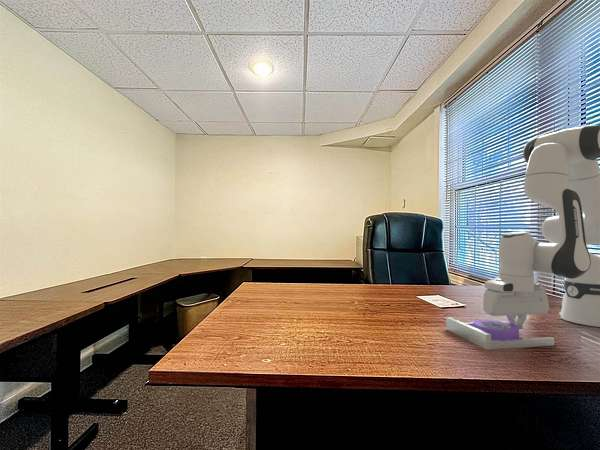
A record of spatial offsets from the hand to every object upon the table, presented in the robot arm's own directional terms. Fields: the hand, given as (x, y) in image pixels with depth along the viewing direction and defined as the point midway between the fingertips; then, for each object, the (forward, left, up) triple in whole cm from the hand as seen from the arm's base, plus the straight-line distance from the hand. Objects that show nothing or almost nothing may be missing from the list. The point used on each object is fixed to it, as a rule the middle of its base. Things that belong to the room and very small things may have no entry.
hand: (516, 328), depth 94 cm
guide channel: (+6, 0, -2) cm, 6 cm away
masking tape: (+7, 0, -2) cm, 8 cm away
